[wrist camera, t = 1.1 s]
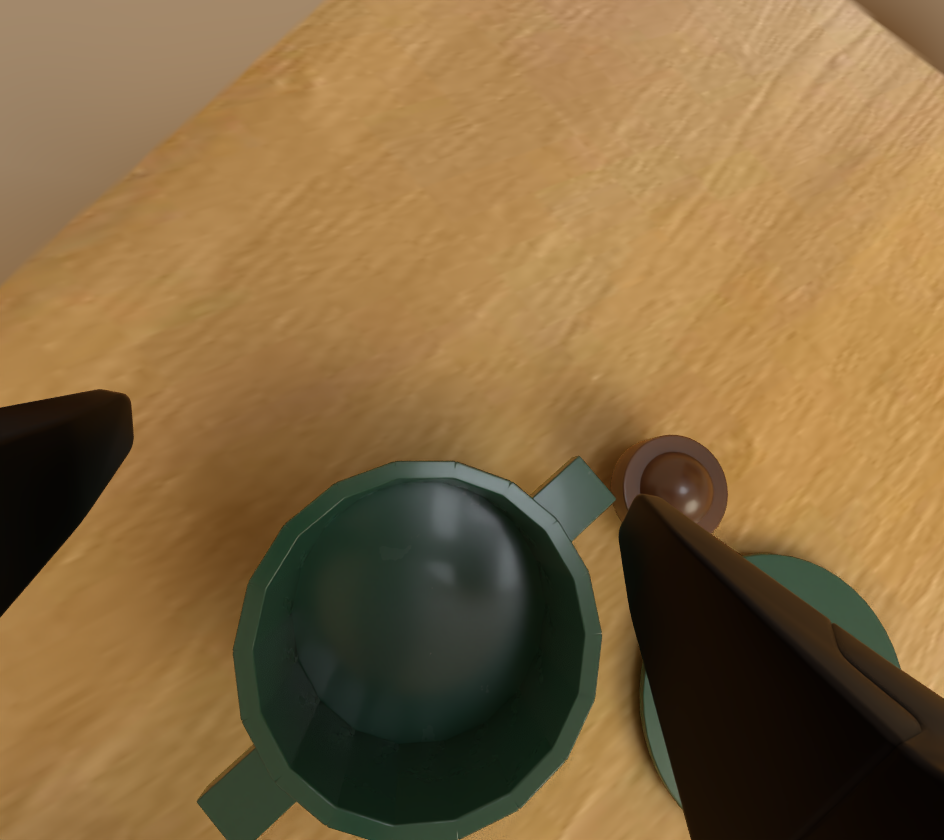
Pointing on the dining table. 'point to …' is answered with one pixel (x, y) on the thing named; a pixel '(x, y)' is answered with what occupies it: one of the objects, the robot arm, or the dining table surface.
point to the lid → (813, 589)
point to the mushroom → (672, 478)
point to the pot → (414, 653)
